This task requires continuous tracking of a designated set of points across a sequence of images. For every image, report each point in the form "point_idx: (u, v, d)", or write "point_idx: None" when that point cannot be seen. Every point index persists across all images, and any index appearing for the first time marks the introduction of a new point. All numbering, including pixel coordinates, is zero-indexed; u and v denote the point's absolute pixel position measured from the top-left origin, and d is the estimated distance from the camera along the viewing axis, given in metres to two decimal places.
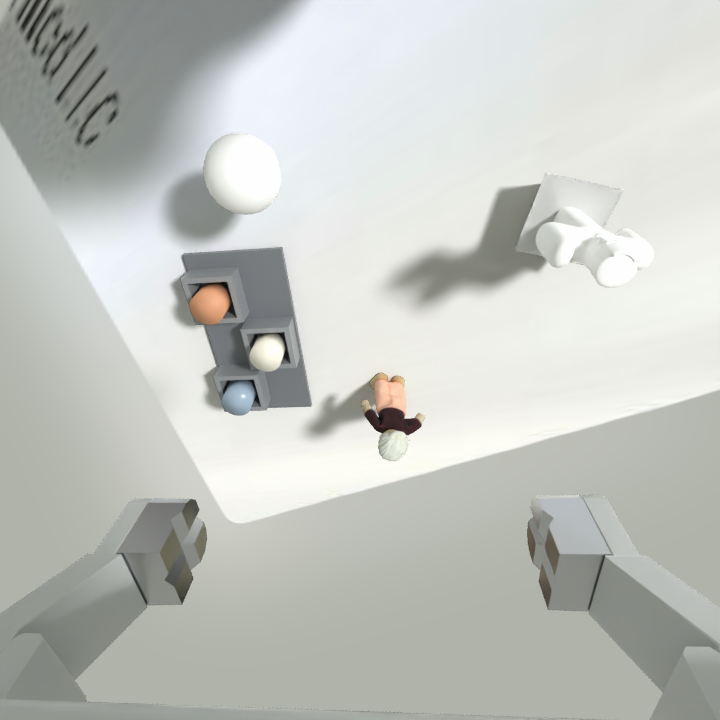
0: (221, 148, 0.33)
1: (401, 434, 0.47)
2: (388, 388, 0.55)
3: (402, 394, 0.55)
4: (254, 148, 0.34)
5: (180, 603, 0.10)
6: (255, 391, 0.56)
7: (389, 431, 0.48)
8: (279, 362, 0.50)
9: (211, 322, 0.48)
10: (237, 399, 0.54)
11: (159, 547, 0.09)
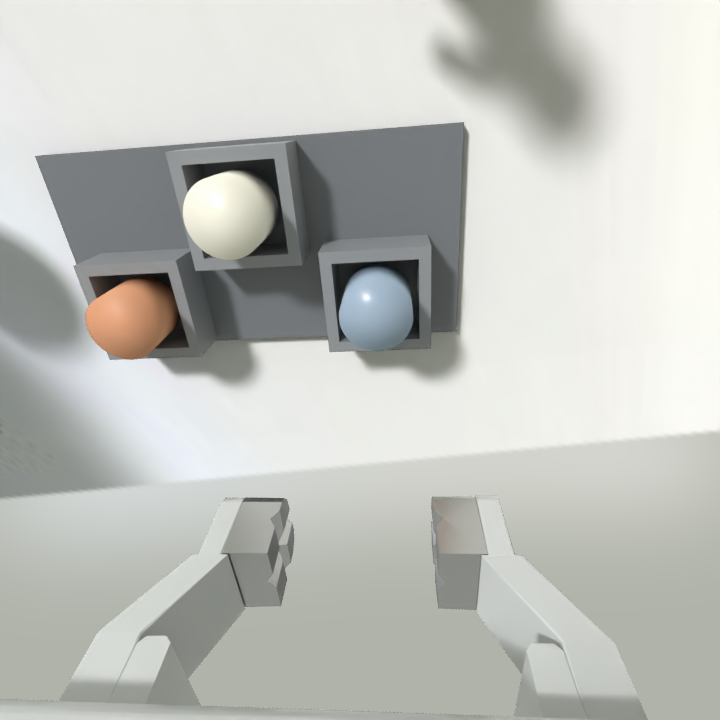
0: None
1: None
2: None
3: None
4: None
5: (279, 605, 0.10)
6: (376, 266, 0.23)
7: None
8: (228, 182, 0.19)
9: (149, 325, 0.22)
10: (360, 311, 0.21)
11: (264, 547, 0.09)
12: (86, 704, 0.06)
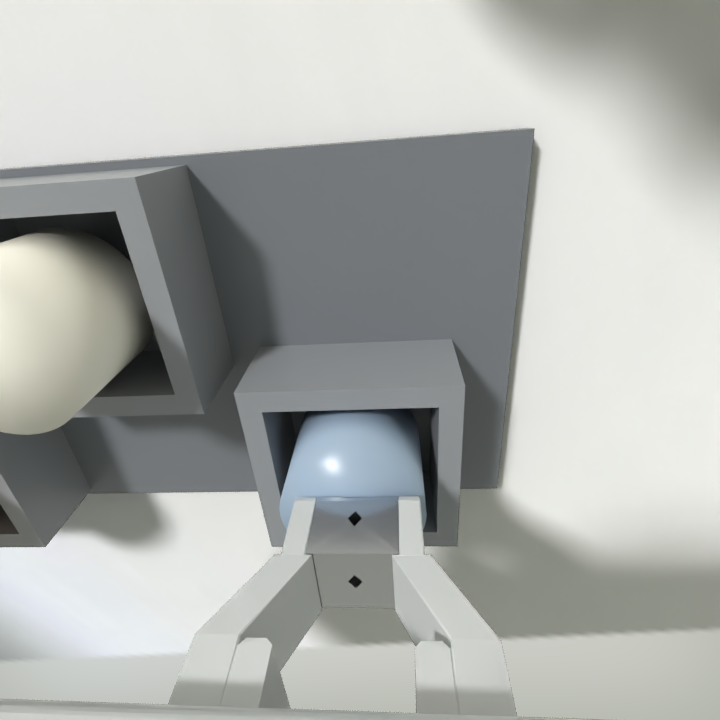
0: None
1: None
2: None
3: None
4: None
5: (357, 605, 0.10)
6: None
7: None
8: None
9: None
10: None
11: (347, 547, 0.09)
12: (86, 704, 0.06)
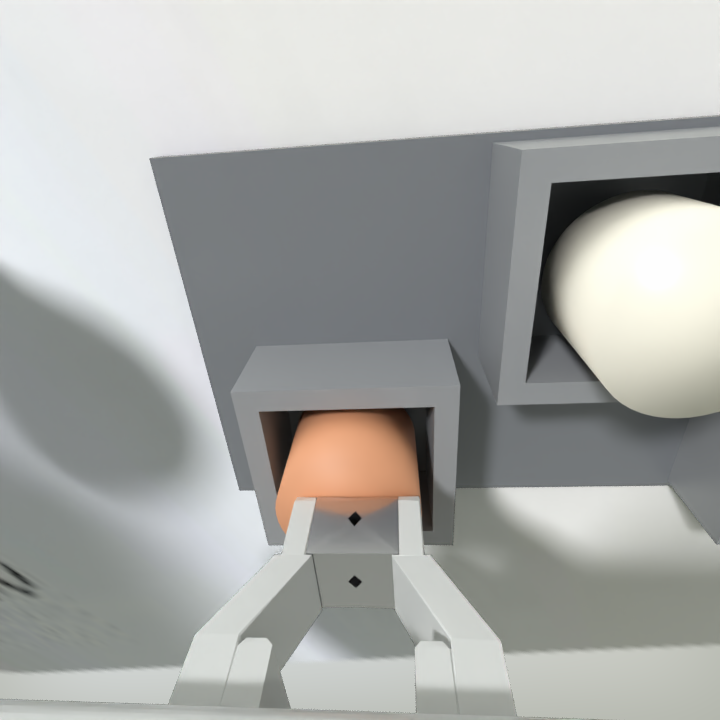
0: None
1: None
2: None
3: None
4: None
5: (357, 605, 0.10)
6: None
7: None
8: None
9: None
10: None
11: (347, 547, 0.09)
12: (86, 704, 0.06)
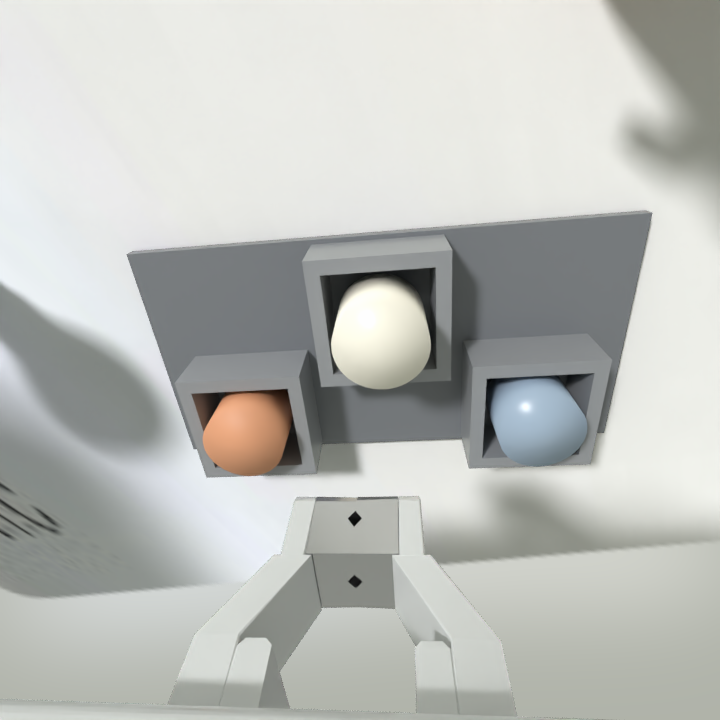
0: None
1: None
2: None
3: None
4: None
5: (357, 605, 0.10)
6: None
7: None
8: (394, 307, 0.15)
9: (276, 442, 0.20)
10: (525, 428, 0.19)
11: (347, 547, 0.09)
12: (86, 704, 0.06)
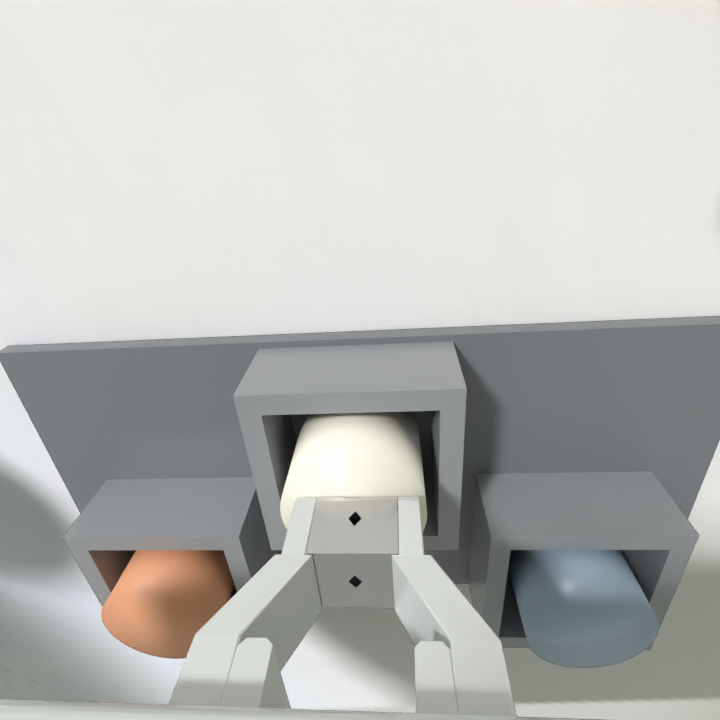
0: None
1: None
2: None
3: None
4: None
5: (358, 605, 0.10)
6: None
7: None
8: (372, 467, 0.10)
9: None
10: (566, 626, 0.13)
11: (347, 547, 0.09)
12: (86, 704, 0.06)
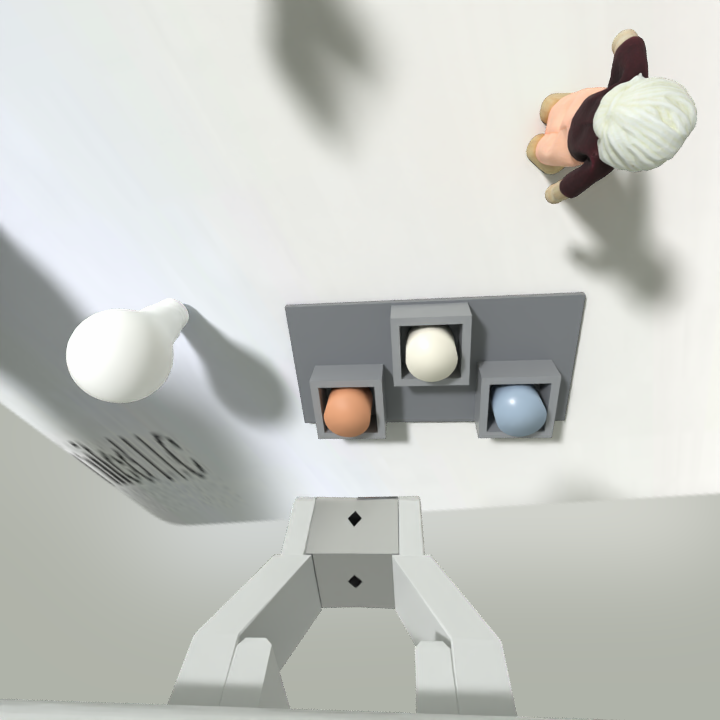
0: None
1: (606, 100, 0.17)
2: (551, 133, 0.25)
3: (571, 97, 0.24)
4: (68, 342, 0.27)
5: (357, 605, 0.10)
6: None
7: None
8: (439, 340, 0.30)
9: (366, 417, 0.34)
10: (511, 413, 0.32)
11: (347, 547, 0.09)
12: (86, 704, 0.06)
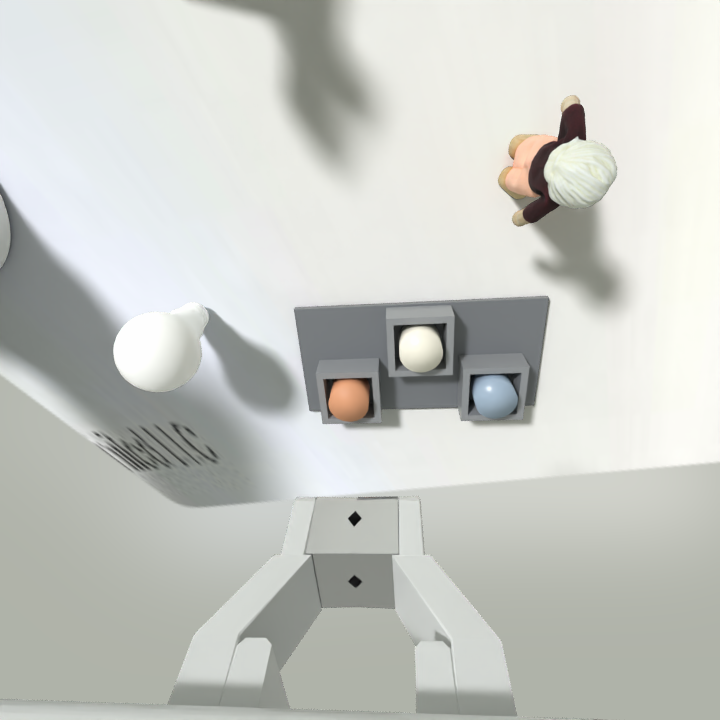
0: None
1: (552, 156, 0.23)
2: (517, 168, 0.31)
3: (532, 141, 0.30)
4: (116, 340, 0.32)
5: (357, 605, 0.10)
6: None
7: None
8: (428, 336, 0.36)
9: (365, 404, 0.39)
10: (488, 398, 0.38)
11: (347, 547, 0.09)
12: (86, 704, 0.06)
